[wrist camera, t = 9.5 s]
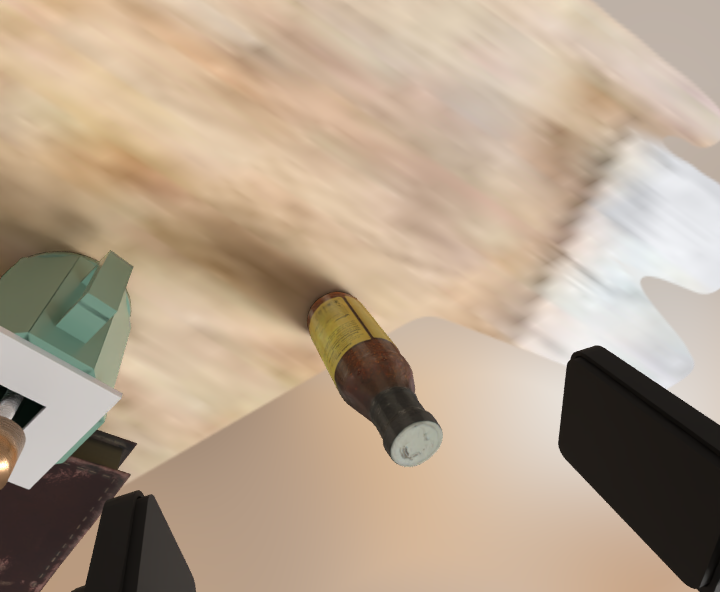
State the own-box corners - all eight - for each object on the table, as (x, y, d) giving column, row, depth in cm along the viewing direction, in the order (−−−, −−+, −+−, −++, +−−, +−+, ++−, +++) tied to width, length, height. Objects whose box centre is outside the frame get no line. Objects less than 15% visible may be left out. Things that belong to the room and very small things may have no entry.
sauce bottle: (301, 342, 48) (357, 488, 31) (309, 287, 46) (373, 412, 29) (360, 341, 50) (442, 477, 33) (370, 289, 48) (464, 406, 31)
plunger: (-26, 335, 34) (-166, 495, 21) (38, 269, 34) (-65, 390, 21) (65, 383, 38) (-6, 545, 25) (125, 324, 37) (83, 457, 24)
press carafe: (-33, 312, 37) (-150, 430, 25) (73, 201, 36) (7, 265, 24) (81, 374, 42) (32, 499, 30) (177, 278, 41) (167, 365, 29)
